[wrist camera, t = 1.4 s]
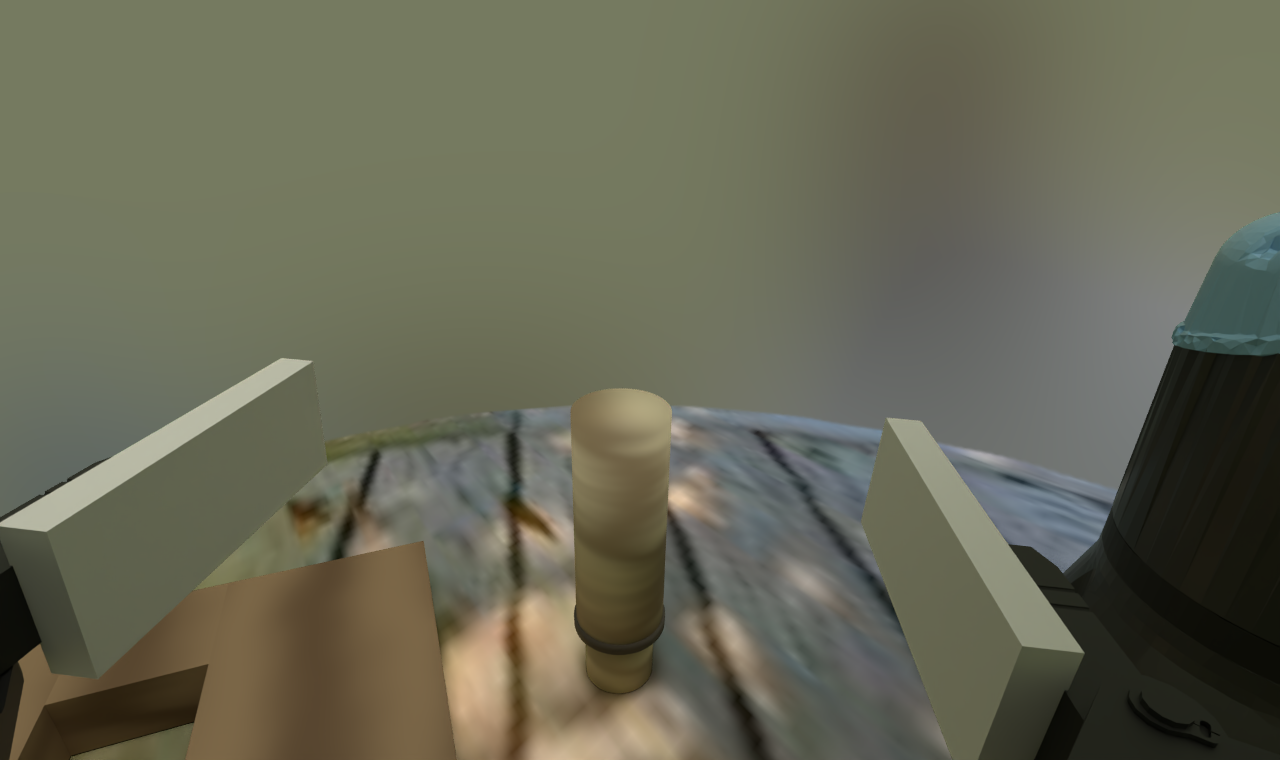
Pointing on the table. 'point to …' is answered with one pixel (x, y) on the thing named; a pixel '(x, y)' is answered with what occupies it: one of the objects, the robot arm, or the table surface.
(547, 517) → the table surface
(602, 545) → the peg
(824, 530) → the table surface
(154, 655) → the board
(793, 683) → the table surface
